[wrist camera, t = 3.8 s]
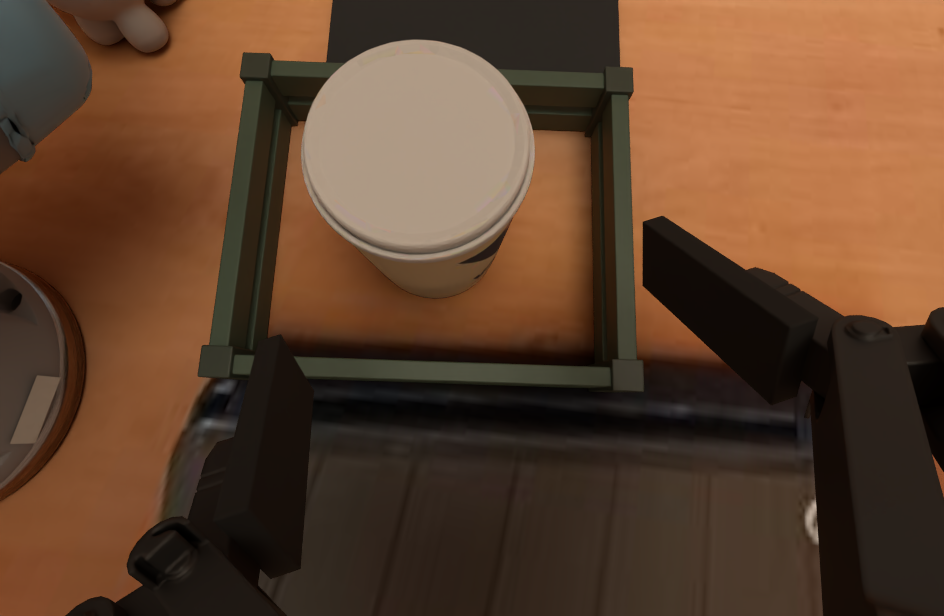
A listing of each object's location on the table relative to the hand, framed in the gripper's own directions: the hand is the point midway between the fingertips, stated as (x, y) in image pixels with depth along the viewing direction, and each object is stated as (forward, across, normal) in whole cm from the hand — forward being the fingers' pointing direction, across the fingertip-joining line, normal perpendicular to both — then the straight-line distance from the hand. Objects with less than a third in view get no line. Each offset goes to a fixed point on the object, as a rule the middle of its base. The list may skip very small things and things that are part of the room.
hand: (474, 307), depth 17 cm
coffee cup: (+14, 0, -4) cm, 14 cm away
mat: (+24, +7, +7) cm, 26 cm away
